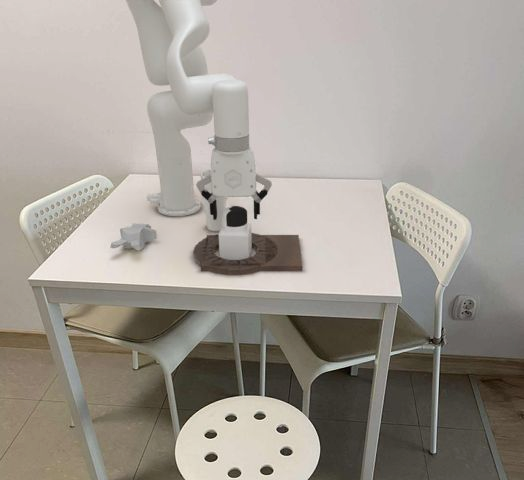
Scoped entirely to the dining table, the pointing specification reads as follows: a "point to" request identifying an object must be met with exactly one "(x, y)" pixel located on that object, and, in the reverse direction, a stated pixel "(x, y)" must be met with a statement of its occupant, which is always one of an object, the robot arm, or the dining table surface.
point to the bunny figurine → (135, 236)
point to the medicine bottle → (235, 234)
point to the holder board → (266, 259)
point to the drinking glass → (221, 205)
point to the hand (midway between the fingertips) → (235, 217)
